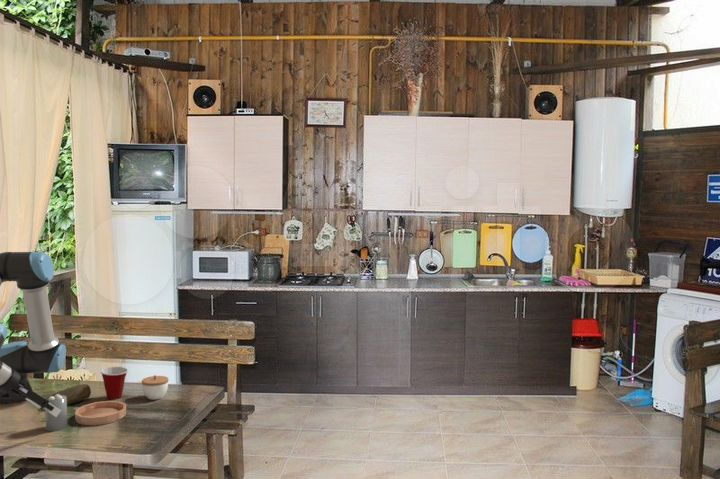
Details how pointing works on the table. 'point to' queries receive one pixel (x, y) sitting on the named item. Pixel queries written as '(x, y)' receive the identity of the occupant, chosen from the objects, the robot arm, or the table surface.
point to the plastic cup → (114, 381)
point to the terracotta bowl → (100, 413)
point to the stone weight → (76, 393)
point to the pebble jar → (61, 419)
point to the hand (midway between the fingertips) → (49, 409)
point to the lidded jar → (155, 386)
